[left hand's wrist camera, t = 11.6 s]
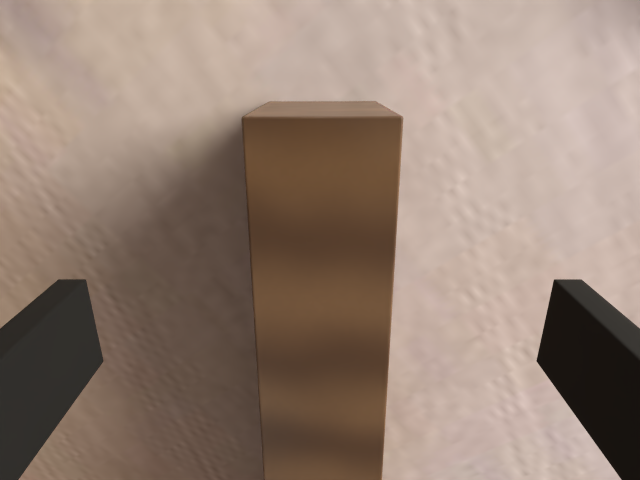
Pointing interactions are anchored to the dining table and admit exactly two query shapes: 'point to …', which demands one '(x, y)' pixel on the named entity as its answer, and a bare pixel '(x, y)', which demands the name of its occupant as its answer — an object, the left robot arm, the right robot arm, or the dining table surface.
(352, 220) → the bar
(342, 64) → the dining table surface
